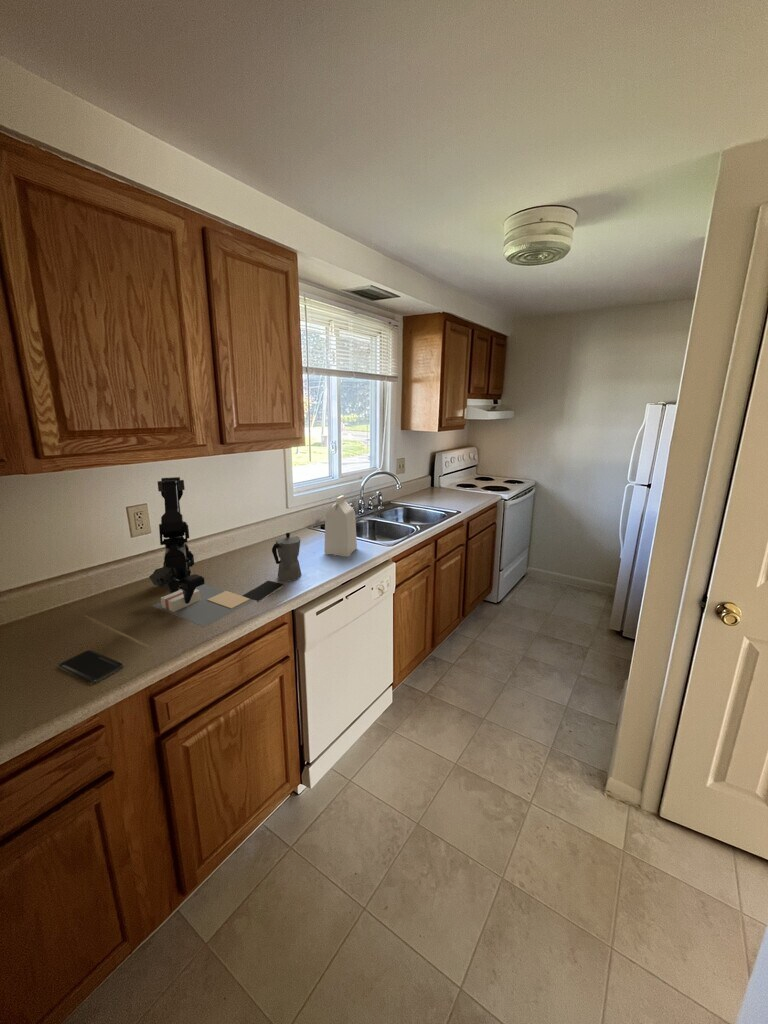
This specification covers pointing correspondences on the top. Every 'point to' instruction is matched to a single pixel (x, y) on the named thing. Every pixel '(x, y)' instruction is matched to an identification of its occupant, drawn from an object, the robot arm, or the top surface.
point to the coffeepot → (287, 557)
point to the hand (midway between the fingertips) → (181, 600)
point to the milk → (340, 529)
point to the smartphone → (263, 590)
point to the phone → (90, 666)
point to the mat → (210, 606)
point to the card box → (178, 600)
